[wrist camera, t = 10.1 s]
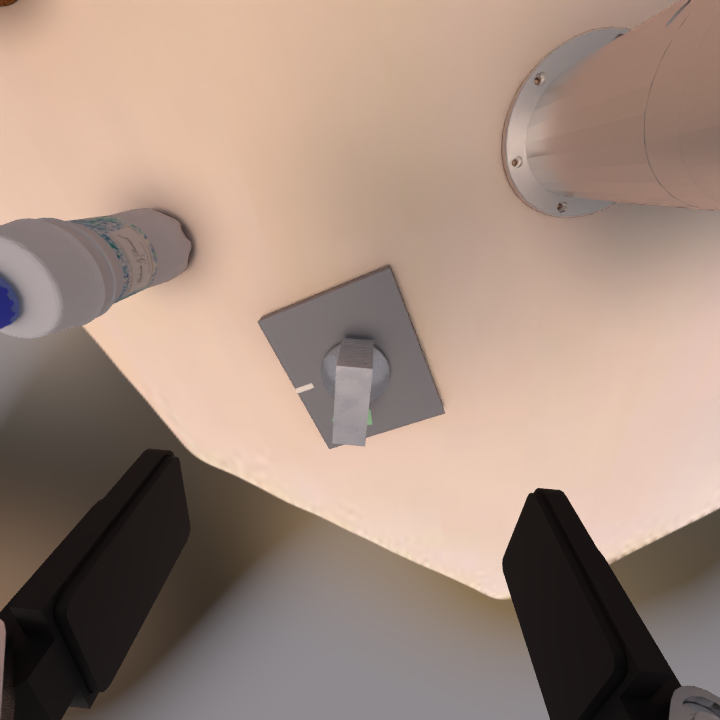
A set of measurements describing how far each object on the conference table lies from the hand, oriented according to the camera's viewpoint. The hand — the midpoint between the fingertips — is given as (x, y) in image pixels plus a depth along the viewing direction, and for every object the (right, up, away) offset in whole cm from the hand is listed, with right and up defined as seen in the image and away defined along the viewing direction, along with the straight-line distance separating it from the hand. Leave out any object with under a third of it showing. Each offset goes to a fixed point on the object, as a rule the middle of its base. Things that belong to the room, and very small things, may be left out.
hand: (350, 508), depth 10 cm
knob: (0, +2, +29) cm, 29 cm away
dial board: (0, +4, +30) cm, 30 cm away
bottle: (-18, +15, +25) cm, 35 cm away
